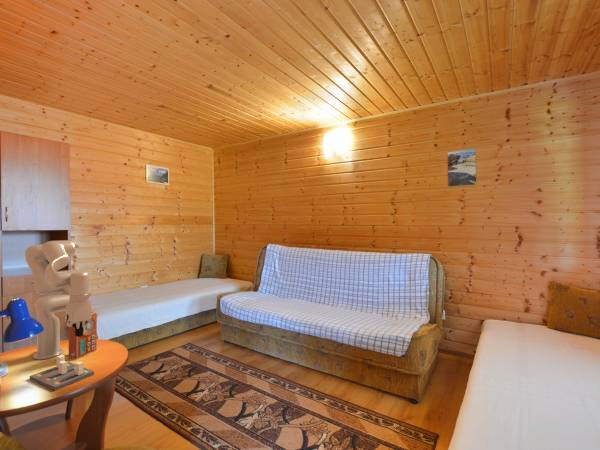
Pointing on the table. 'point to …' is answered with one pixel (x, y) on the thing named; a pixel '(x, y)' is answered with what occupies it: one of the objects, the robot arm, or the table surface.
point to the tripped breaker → (62, 367)
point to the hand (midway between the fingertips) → (79, 335)
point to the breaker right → (79, 368)
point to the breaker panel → (60, 377)
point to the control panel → (83, 339)
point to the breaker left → (60, 359)
